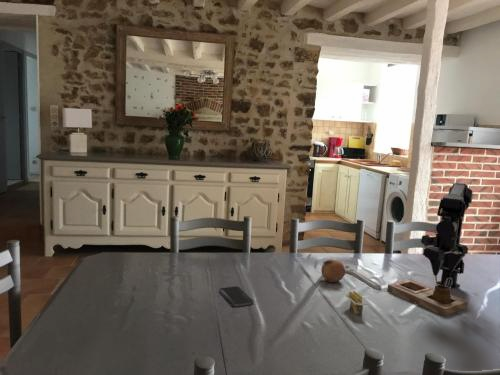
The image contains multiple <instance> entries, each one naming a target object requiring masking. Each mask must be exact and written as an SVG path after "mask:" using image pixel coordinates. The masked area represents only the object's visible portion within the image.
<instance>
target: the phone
mask: <svg viewBox="0 0 500 375" xmlns="http://www.w3.org/2000/svg"><path fill="white" fill-rule="evenodd" d="M219 293H220V294H221V295H222V296H223V297H224V298H225V299H226V300H227V302H228V303H229V304H230V305H231V306H232V307H234V308H238V307H246V306H252V305H254V300H253V299H252V298H251V297H250V296H249V295H248V294H247V293H246V292H245V291H244V290H242V288H241V287H240V286H227V287H220V288H219Z"/></svg>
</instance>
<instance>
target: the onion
mask: <svg viewBox="0 0 500 375" xmlns="http://www.w3.org/2000/svg"><path fill="white" fill-rule="evenodd" d="M321 275H322V277H323V279H324V280H325V281H326V282H329V283H335V282H336V283H337V282H341V281H342V280H343V278H344V276H345V275H346V273H345V265H344V264H343V262H341V261H340V260H336V259H328V260H325V261H324V262H323V264H322V265H321Z"/></svg>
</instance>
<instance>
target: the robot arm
mask: <svg viewBox="0 0 500 375" xmlns="http://www.w3.org/2000/svg"><path fill="white" fill-rule="evenodd" d="M473 193H474V192H473V190H472V189H471V188H469V186H468V184H466V183H462V182H461V183H460V182H454V183H452V186H451V187H449V190H448V194H444V195H443V197H442V198H440V200H439V206H438V210H437V213H436V214H437V215H436V216H437V217H441V219H440V221H439V222H438V223H437V224H436V226H435V230H436V234H435V235H434V236H430V235H429V234H426V235H425V234H424V235H422V236H421V240H420V242H421V244H422V245H424V247H425V248H423V249H422V251H423V252H422V256H424V257H425V258H426V259H428V260H429V263H430V265H431V269H432V274H433V276H434V277H435V276H438V274H439V272H440V271H442V272H441V278H440V280H439V281H438V280H437V284H438V285H446V286H448V287H451V288H450V289H453V288H456V287H457V288H458V287H460V286H461V284H459V283H457V282H458V277H459V276H458V274H459V275H461V274H464V273H465V262H464V259H463V258H465V257H466V255H467V254H468V252H469V248H468V247H467V245H465V244H463V243H462V244H461V243H460V242H461V236H462V230H463V229H462V228H463V222H464V217H465V213H466V211H467V210H468V209H469V207H470V204H472V203H473V196H474V194H473ZM428 246H429V247H428ZM447 278H448V279H447ZM450 278H452V279H450ZM446 279H447V280H446ZM449 281H450V282H449ZM451 283H453V284H451ZM450 285H451V286H450Z"/></svg>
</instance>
